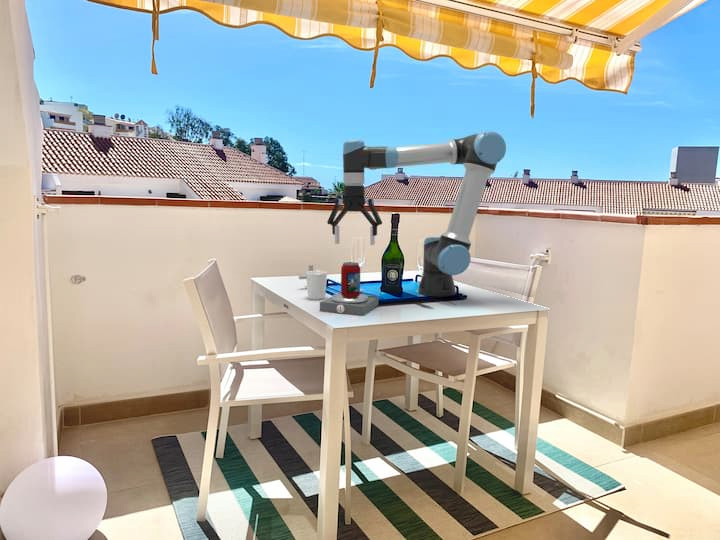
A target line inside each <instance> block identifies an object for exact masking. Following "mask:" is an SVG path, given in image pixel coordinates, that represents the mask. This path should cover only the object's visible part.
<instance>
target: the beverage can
mask: <svg viewBox="0 0 720 540" xmlns="http://www.w3.org/2000/svg"><path fill="white" fill-rule="evenodd" d="M340 268H341V269H340V270H341V272H340V293H341V295H342V296H344V297H345V298H356V297H358V296H359V295H360V294H361V267H360V264H359V262H355V261H354V262H353V261H352V262H351V261H349V262H348V261H347V262H343V264H342V266H341V267H340Z"/></svg>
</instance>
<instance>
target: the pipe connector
mask: <svg viewBox="0 0 720 540" xmlns="http://www.w3.org/2000/svg"><path fill="white" fill-rule="evenodd" d="M309 271H314V264H308V272H309ZM298 279H299V280H307V276H306V273H305V274H299V275H298Z"/></svg>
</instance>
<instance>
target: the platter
mask: <svg viewBox="0 0 720 540" xmlns="http://www.w3.org/2000/svg"><path fill="white" fill-rule="evenodd" d="M338 293H339V294H338ZM338 293H335V294H333V295H331V297H332V301H334V302H337V303H345V304H356V303H363V302H366V301H368V296H367V295H368V294H365V293H360V295H359V296H358V297H356V298H345V297H344V296H342V295H341V292H338Z"/></svg>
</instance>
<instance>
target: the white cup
mask: <svg viewBox="0 0 720 540" xmlns="http://www.w3.org/2000/svg"><path fill="white" fill-rule="evenodd" d="M305 274H306V276H307V279H306V287H307V288H306V291H307V298H308V300H309V299H310V300H315V301H316V300H325V299H326V297H327V296H326V291H327V278H328V277H327V275H328V272H327V271H324V270H313V271H309V270H308V271H306V273H305Z"/></svg>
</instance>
